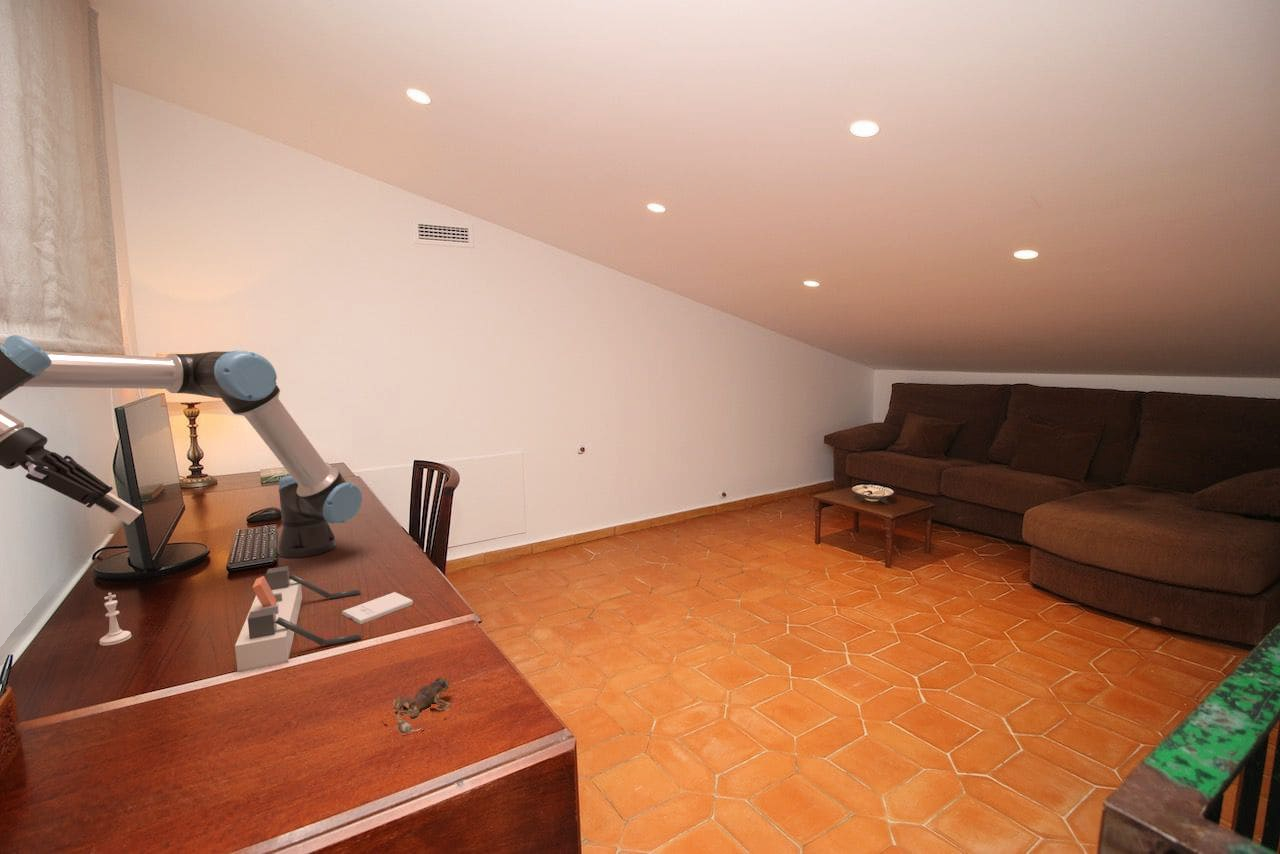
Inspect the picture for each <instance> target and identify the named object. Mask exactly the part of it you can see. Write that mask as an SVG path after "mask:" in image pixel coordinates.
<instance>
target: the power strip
mask: <svg viewBox="0 0 1280 854" xmlns="http://www.w3.org/2000/svg"><path fill="white" fill-rule="evenodd" d="M289 568H290V567H289V565H286V566H280V567H279V566H278V567H273V568H272V567H271V568H268V569H267V571H266V581H267V583H268V585H269V586H270V588H271V590H272V592H273V594H274V596H275V598H276V603H275V605H273V606H267V607H262V605H261V603H260V601H259V599H258V597H257V595H256V594H255V596H254V597H255V598H254V600H253V601H252V604H251V607H250V609H249V611H248V613H247V615H246V619H245V622H244V624H243V626H242V628H241V630H240V633H239V635H238V638H237V641H236V642H235V644H234V653H235V660H236V670H237V672H243V671H248V670H252V669H258V668H262V667H266V666H271V665H277V664H282V663H287V662H289V660H290V654H291V650H292V645H293V641H294V637H295V636H294V635H295V634H297V635H299V636H302V637H304V638H306V639H307V640H310V641H311V642H313V643H316V644H318V645H320V646H323V645H324V647H327V646H333V645H338V644H343V643H348V642H353V641H358V640H360V639H361V638H362V634H361V633H353V634H348V635H344V636H343V635H342V636H339V637H332V638H328V639H325V638H323V637H320V636H319V635H317V634H315V633H313V632H311V631H309V630H306V629H305V628H303V627H300V626H299V625H297V623H298V619H299V615H300V610H301V606H302V601H303V594H302V593H303V592H302V586H303V587H305V588H307V589H308V590H310V591H312V592H314V593H317V594H318V595H320V596H322V597H324V598H326V599H328V598H329V599H330V600H333V599H338V598H339V599H340V598H344V597H350V596H357V595H359V594H360V593H361V589H358V588H357V589H351V590H346V591H339V592H334V593H330V592H328V591H326V590H324V589H323V588H320V587H319V586H317V585H315V584H313V583H312V582H310V581H308V580H306V579H304V578H302V577H300V576H298V575H296V574H294V573H293V572H292V573H291V574H290V569H289Z"/></svg>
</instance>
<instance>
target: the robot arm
mask: <svg viewBox="0 0 1280 854" xmlns="http://www.w3.org/2000/svg"><path fill="white" fill-rule="evenodd" d="M6 338H7V339H6ZM6 338H5V339H6V341H5V343H4V344H3V345H2V346H1V348H0V401H1V400H2V399H3V398H5V397H6V396H8V395H9V394H11V393H13V392H14V391H16V390H18V389H19V388H20V387H21V388H23V387H24V388H27V387H28V388H75V389H77V388H85V389H86V388H87V389H89V388H91V389H93V388H94V389H145V390H146V389H147V390H148V389H149V390H150V389H151V390H153V389H154V390H155V389H156V390H159V389H160V390H166V391H168V392H169V393H171V394H187V395H188V394H189V395H196V396H203V397H209V398H214V399H221V400H222V401H223V402H224V404H225V405H226V406H227V407H228V409H229V410H230V412H231V413H232V414H233V415H236V416H237V415H238V416H243V417H244V418H245V419H246V420H247V422H248V423H249V424H250V426H252V428H253V429H254V430H255V432H256V434H257V435H259V437H260V438H261V440H262V441H263V442H264V443H265V444H266V446H267V447H268V448H269V449H270V451H271V452H272V453H273V455H274V456H275V457H276V458H277V460H278V461H279V462H280V464H281V465H282V466H283V467H284V468H285V470H286V471H287V473H288V474H289V475H285V476H283V477H281V478H280V479H279V481H278V492H279V493H278V494H279V503H280V513H281V524H282V527H281V531H280V535H279V538H278V539H279V540H278V543H277V547H276V548H277V555H278V554H279V555H278V556H279V557H283V558H304V557H312V556H316V555H319V554H323V553H326V552H329V551H331V550H333V549H334V548H335V547H336V546H337V544H336V543H337V542H336V536H335V535H334V532H333V529H332V528H331V526H330V524H343V523H347V522H348V521H351V520H352V519H354V517H356V515H357V514H358V512H359V511H360V509H361V504H362V502H363V493H362V491H361V489H360V488H359V486H358V485H356V484H355V483H353V482H352V481H351V482H350V481H346V480H345V478H344V476H343V474H341V473H340V471H339V470H338V469H337V468H336V467H329V466H328V465H327V464H326V461H324V459H323V458H322V457H321V456H320V454H319V452H318V451H317V450H316V448H315V447H314V446H313V444H312V443H311V441H310V440H309V438H307V436H306V435H305V433H304V432H303V430H302V429H301V428H300V427H299V425H298V423H297V422H296V421H295V419H294V418H293V417H292V414H290V413H289V411H288V410H287V409H286V407H285V406H284V404H283V402H281V400H280V399H279V397H280V394H281V389H280V387H279V386H278V385H277V379H278V376H277V372H276V370H275V367H274V366H273V364H272V363H271V362H270V361H269V360H268V359H267V358H265V357H264V356H263V355H260V354H258V353H255V352H252V351H251V352H249V351H247V350H230V351H208V352H198V353H197V352H196V353H169V354H167V355H166V356H164V357H163V356H143V355H128V354H127V355H126V354H124V355H123V354H106V353H105V354H103V353H90V352H89V353H87V352H86V353H85V352H67V351H66V352H65V351H50V350H49V351H48V350H44V349H42V348H41V347H40V346H38V345H37V344H35V343H34V342H33V341H31V340H29V338H26V337H23V336H22V335H17V334H13V335H10V336H8V337H6ZM47 443H48V438H47V437H46V436H45V435H43V434H41V433H40V432H38V431H37V430H35V429H33V428H32V427H30V426H29V427H27V426H26V427H25V423H24V422H23V421H21V420H20V419H18V418H16V417H14V416H13V415H11V414H9V413H8V412H6V411H4V410H3V409H1V408H0V466H1V467H3V468H4V469H6V470H13V469H15V468H17V467H21V468H23V470H26V471H27V474H26V475H25V478H26V479H28V480H29V481H34V482H36V483H38V484H40V485H43V486H46V487H47V488H50V489H52V490H53V491H55V492H57V493H60V494H62V495H64V496H66V497H68V498H70V499H72V500H74V501H76V502H78V503H80V504H82V505H86V508H89V509H91V508H92V507H93V506H94V505H95V506H96V507H98V508H99V509H102V510H103V511H105V512H106V513H108V514H110V515H111V516H114V518H116V519H117V520H120V521H121V522H123V523H124V524H126V525H128V526H129V525H131V523H133V522H134V520H136V519H137V518H138V517H139V516H140V515H141V514H142V513H143V512H142V511H141V510H139V509H138V508H136V507H134V506H133V505H131V504H130V503H128V502H126V501H124V500H123V499H122V498H119V496H117V495H115V494H113V493H112V492H111V491H112V490H113V487H112V486H109V485H108V484H106V483H105V482H103V481H102V480H101V479H99V478H98V477H96V476H95V475H94V474H93V473H92V472H90V471H89V470H87V469H86V468H85V467H83V466H81V465H80V464H79V463H78V462H77V461H76V460H75V459H74V458H73V457H72V456H70V455H65V456H62V455H60V454H59V453H57V452H54V451H50V450H48V449H46V448H45V445H46V444H47Z"/></svg>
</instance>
